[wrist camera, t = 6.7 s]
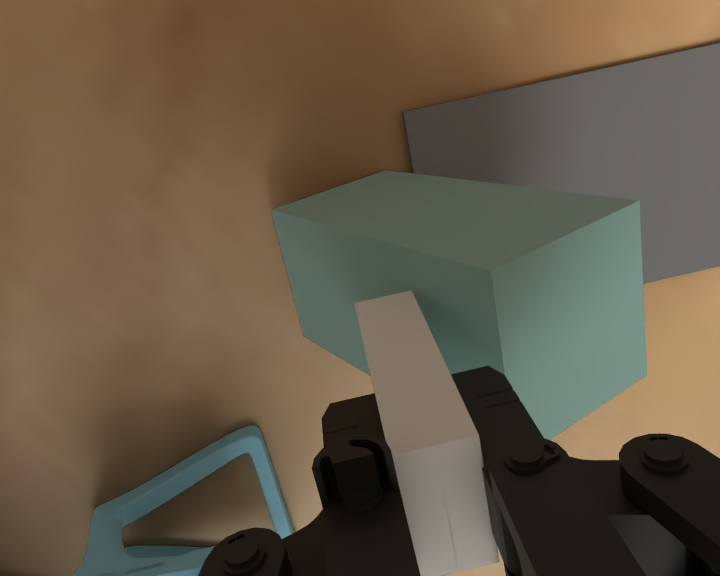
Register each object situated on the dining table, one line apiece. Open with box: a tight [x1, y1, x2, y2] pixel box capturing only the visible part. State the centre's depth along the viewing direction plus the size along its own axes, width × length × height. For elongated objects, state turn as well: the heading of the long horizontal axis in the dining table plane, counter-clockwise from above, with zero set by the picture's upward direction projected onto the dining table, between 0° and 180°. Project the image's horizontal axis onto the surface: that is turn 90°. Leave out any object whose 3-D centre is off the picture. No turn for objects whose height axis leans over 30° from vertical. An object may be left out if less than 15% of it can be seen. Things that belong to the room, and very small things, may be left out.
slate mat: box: [403, 42, 720, 284], centre depth 26 cm, size 13×9×1 cm
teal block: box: [271, 170, 647, 440], centre depth 21 cm, size 5×5×11 cm
